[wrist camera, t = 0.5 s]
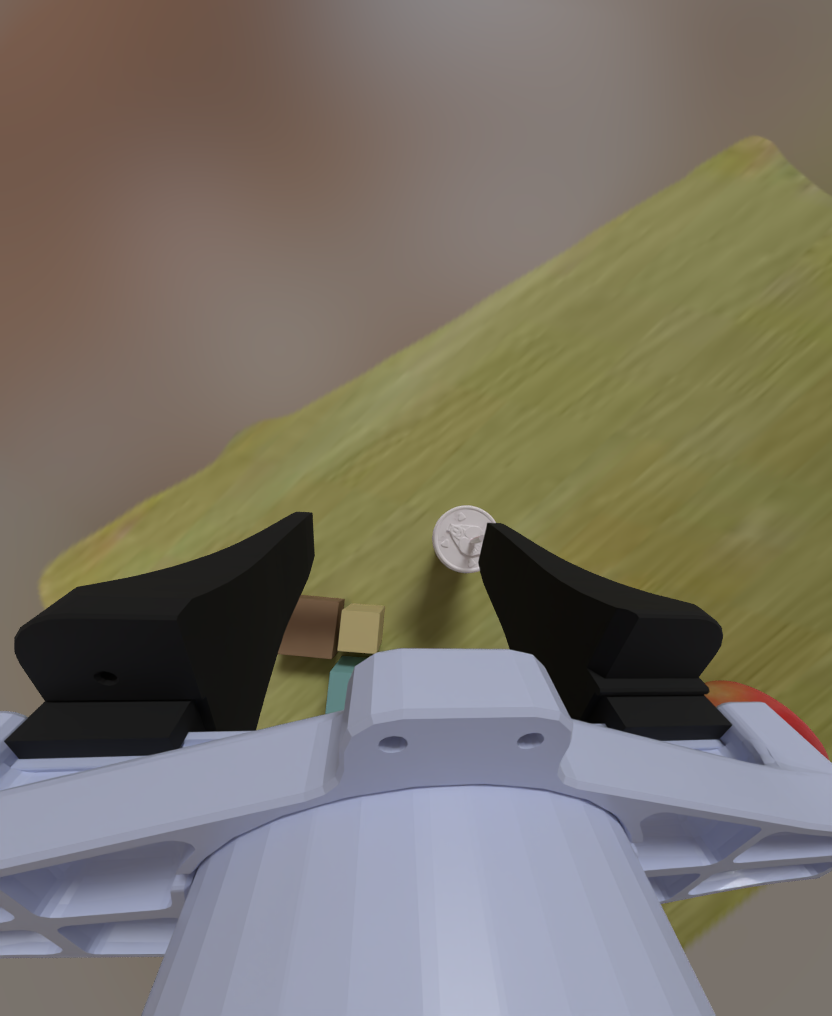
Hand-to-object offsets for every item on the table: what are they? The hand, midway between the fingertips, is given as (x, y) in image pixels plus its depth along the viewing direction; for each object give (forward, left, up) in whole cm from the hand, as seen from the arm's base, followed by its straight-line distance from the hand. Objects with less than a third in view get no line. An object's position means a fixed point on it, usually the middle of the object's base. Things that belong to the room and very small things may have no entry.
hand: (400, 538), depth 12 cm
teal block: (-15, +5, -25) cm, 30 cm away
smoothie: (+1, -5, -25) cm, 26 cm away
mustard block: (-9, +5, -25) cm, 27 cm away
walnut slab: (-9, +11, -25) cm, 29 cm away
